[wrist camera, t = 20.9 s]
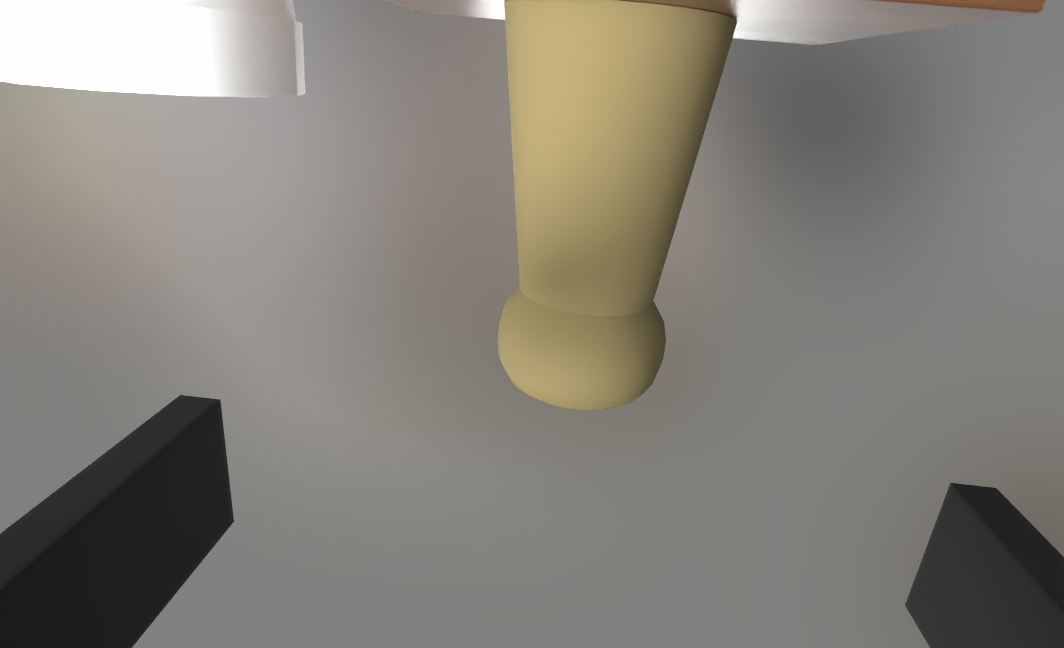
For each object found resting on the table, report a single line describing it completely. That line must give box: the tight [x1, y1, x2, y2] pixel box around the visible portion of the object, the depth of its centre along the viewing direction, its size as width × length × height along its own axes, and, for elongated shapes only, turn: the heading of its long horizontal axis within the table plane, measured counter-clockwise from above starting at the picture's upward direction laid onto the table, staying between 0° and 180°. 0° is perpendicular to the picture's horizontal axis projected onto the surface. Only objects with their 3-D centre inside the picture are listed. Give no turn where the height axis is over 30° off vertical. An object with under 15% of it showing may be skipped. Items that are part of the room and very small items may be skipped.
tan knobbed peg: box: [498, 0, 737, 410], centre depth 19 cm, size 6×6×11 cm
